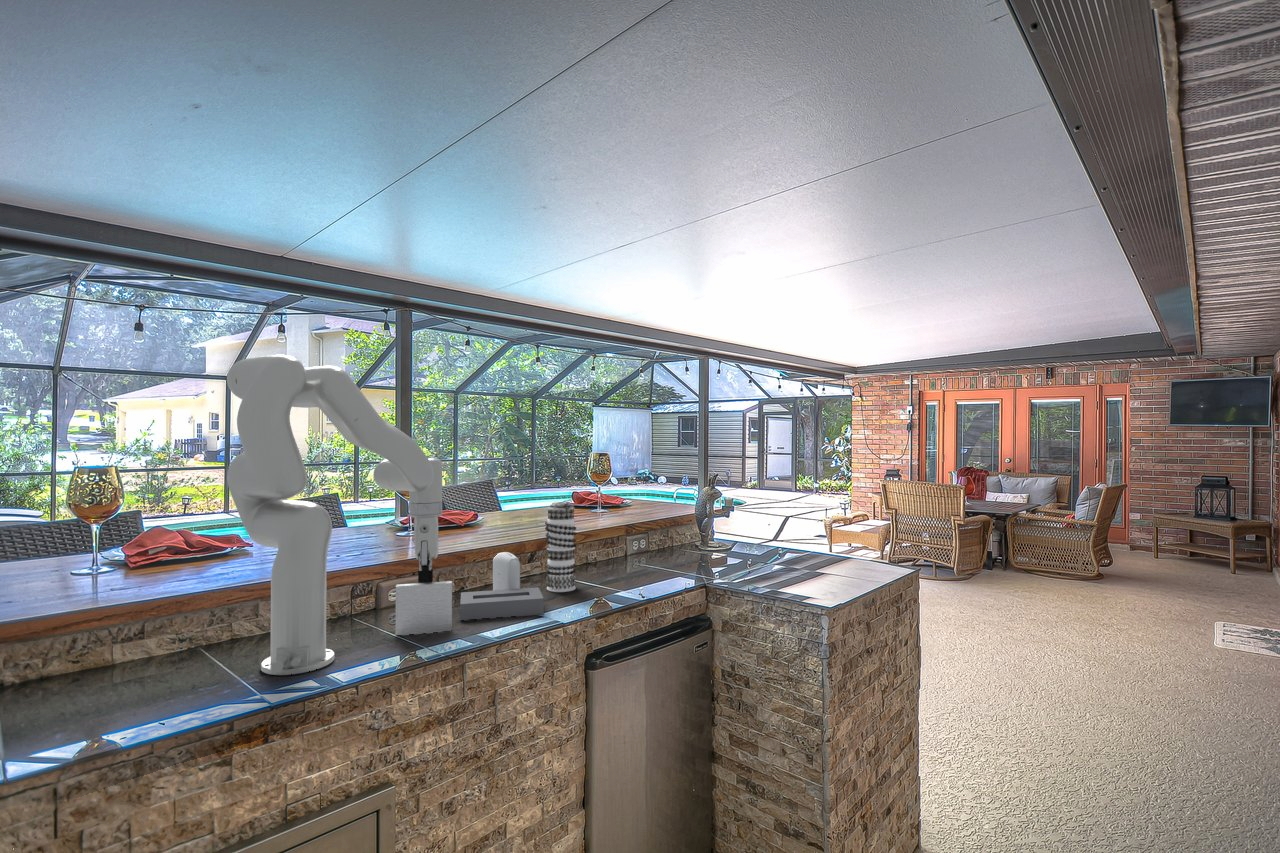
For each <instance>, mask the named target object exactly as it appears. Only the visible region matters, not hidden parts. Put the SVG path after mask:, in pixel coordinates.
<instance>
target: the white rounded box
mask: <svg viewBox="0 0 1280 853" xmlns="http://www.w3.org/2000/svg"><path fill="white" fill-rule="evenodd" d="M496 554H497V555H496ZM496 554H495V555H496V556H495V555H494V556H495V557H493V559H492V590H507V589H521V563H520V559H519V558H518V557H517V556H516V555H515V554H513V553H511V552H508V551H503V552H498V553H496Z"/></svg>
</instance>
